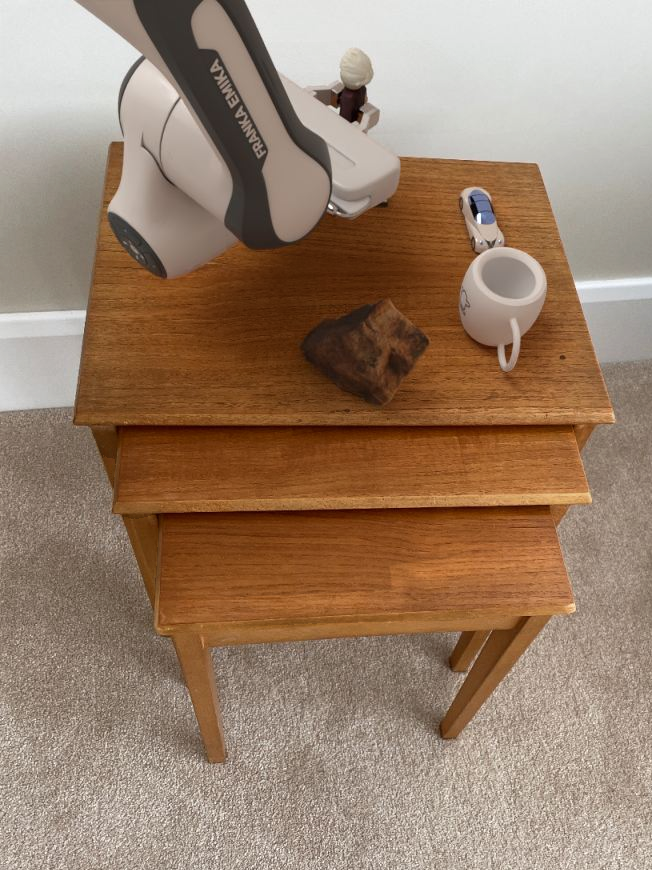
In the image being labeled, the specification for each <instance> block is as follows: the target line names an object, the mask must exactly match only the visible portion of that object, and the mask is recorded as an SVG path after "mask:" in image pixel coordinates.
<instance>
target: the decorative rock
mask: <svg viewBox="0 0 652 870" xmlns="http://www.w3.org/2000/svg"><path fill="white" fill-rule="evenodd" d="M431 343H432V341H431V338H430V337H429V336H428V335H427V334H426V333H425V332H424V330H423V329H422V327H419V326H416V325H414V323H413V322H412V321H411V320H410V319H408V318H407V317H406V316H405V315H403V314H402V312H401V311H399V310H398V309H397V308H396V307H395V305H394V304H393V302H392V301H391V300H390V299H389V298H388V297H382V298H381V299H379V300H378V301H377V302H375V303H366V304H363V305H361V306H360V307H358V308H356V309H354V310H351V311H350V312H348V313H346V314H342V315H340V316H339V317H338V318H331V317H330V318H329V317H327V318H324V319H323V320H321V322H320V323H318V324H317V325H316V326H314V327H313V328H312V330H310V331H309V332H308V333H307V334H306V336H305V338H304V339H303V340H302V342H301V343H300V346H299V349H300V350H301V351H302V353H301V355H302V356H303V357H304V359H305V361H306V362H308V363H309V364H311V365H312V366H313V367H314V368H315V369H316V370H317V371H318V372H320V374H321V375H322V376H325V377H326V378H328V379H330V380H331V381H332V382H333V383H334V384H335V385H336V386H337V387H339V388H340V390H343V391H345V392H349V393H352V394H355V395H357V396H361V397H362V398H363V399H364V400H365V401H366V402H368V403H369V404H371V405H372V406H374V407H377V408H381V407H383V406H385V405H387V404H388V403H389V402H391V401H392V400H393V397H394V396H395V394H396V393H397V391H398V389H400V387H401V385H402V384H403V381H404V380H405V379H406V377H408V376H409V375H410V374H411V372H412V371H413V370H414V369H415V367H416V365H417V364H418V362H419V361H420V360H421V359H422V358H423V356H424V355H425V353H426V351H427V350H428V349H429V347H430V345H431Z"/></svg>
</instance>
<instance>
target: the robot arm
mask: <svg viewBox="0 0 652 870" xmlns="http://www.w3.org/2000/svg"><path fill="white" fill-rule="evenodd" d="M73 1H74V2H76V3H77V4H78V5H79V6H81V7H82V8H84V9H85V10H86V11H87V12H89V13H90V14H92V15H93V16H94V17H95V18H96V19H98V20H99V21H101V22H102V23H103V24H105V26H107V27H109V29H111V30H112V31H113V32H114V33H116V34H117V35H119V36H120V37H121V38H122V39H123V40H125V41H126V42H127V43H128V44H130V45H131V46H132V47H133V48H134V49H135V50H137V51H138V52H139V53H140V54H141V56H139V58H137V59H136V60H135V61H134V63H133V64H132V65H131V66H130V68H129V69H128V71H127V72H126V74H125V75H124V78H123V79H122V82H121V84H120V87H119V91H118V97H117V116H118V117H117V118H118V122H119V127H120V131H121V135H122V137H123V160H122V171H121V178H120V183H119V186H118V188H117V190H116V192H115V194H114V196H113V197H112V199H111V201H110V202H109V204H108V207H107V210H106V216H107V220H108V223H109V224H108V225H109V227H110V229H111V232H112V233H113V234H114V236H115V239H116V240H117V241H118V242H119V244H120V246H121V247H123V249H124V250H125V251H126V253H128V254H129V256H130V257H131V258H132V259H134V261H136V262H137V263H138V264H139V265H140V266H141V267H142V268H144V269H145V270H147V271H148V272H149V273H151V274H152V275H153V276H155V277H157V278H160V279H163V280H172V279H177V278H179V277H182V276H185V275H187V274H190V273H192V272H194V271H196V270H198V269H199V268H201V267H203V266H205V265H207V264H209V263H210V262H212V261H213V260H215V259H216V258H218V257H220V256H221V255H222V254H224V253H225V252H227V251H228V250H230V249H231V248H233V247H234V246H235V245H236V244H238V243H239V242H241V243H242V244H243V245H244V246H245V247H246V248H247V249H249V250H252V251H267V250H275V249H281V248H286V247H288V246H293V245H295V244H298V243H299V242H301V241H303V240H305V239H307V237H309V235H311V234H312V233H313V232H314V231H315V230H316V228H317V227H318V225H320V223H321V221H322V220H323V218H324V216H325V215H327V216H330V217H331V218H336V217H338V218H342V219H348V220H354V219H356V218H357V217H359V216H360V215H361V214H363V213H364V212H367V211H369V210H370V209H373V208H374V207H376V206H379V205H378V204H380V203H381V202H383V201H385V200H386V199H387V200H388V199H389V198H391V197H392V196H394V195H395V193H396V192H397V189H398V187H399V184H400V183H399V182H400V176H401V160H400V158H399V157H398V156H397V155H396V154H394V153H393V152H392V151H390V150H389V149H387V148H386V147H385V146H383V145H381V144H380V143H379V142H378V141H376V140H375V139H374V138H372V137H370V136H369V135H368V133H369V131H370V130H371V129H373V128H374V127H376V126H377V125H378V123H379V121H380V114H381V110H380V109H379V108H378V107H377V106H375V105H373V104H372V103H370V102H368V101H367V103H366V104H365V105H362V106H361V107H359V108H358V116H359V117H358V118H357V121H355V122H353V123H352V124H351V123H350V122H348V121H347V120H345V119H344V118H343V117H341V116H340V115H339V113H337V112H336V111H334V110H333V109H331V108H330V107H329V106H331V107H332V108H334V109H336V110H337V109H340V99H341V95H342V92H343V90H344V86H345V85H344V84H343V83H342V81H340V80H339V79H336V80H335V81H332V82H331V83H329V84H328V85H307V86H305V87H304V88H303V87H301V86H299V85H298V84H297V83H296V82H295V81H292V80H291V79H290V78H288V77H287V76H285V75H284V74H282V72H280V71H279V70H277V68H276V66H275V63H274V62H273V60H272V59H273V58H272V56H271V55H270V52H269V51H268V48H267V46H266V43H265V41H264V39H263V37H262V35H261V32H260V30H259V28H258V26H257V24H256V22H255V19H254V17H253V15H252V13H251V11H250V8H249V6H248V4H247V2H246V0H73Z"/></svg>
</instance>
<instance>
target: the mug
mask: <svg viewBox="0 0 652 870" xmlns="http://www.w3.org/2000/svg"><path fill="white" fill-rule="evenodd" d="M547 291H548V283H547V276H546V273H545V270H544V268H543V267H542V265H541V264H540V263H539V261H538V260H536V259H535V258H534V257H533V256H532V255H530V254H529V253H527V252H525V251H523V250H520V249H517V248H514V247H509V246H504V247H496V248H492V247H490V248H489V250H486V251H484V252H483V253H479V255H477V256H476V257H475V258H474V259H473V261H472V262H471V263H470V265H469V267H468V268H467V270H466V272H465V274H464V277H463V280H462V282H461V287H460V291H459V297H458V312H459V318H460V321H461V325H462V327H463V329H464V330H465V332H466V333H467V335H469V336H470V337H471V338H472V339H473V340H475V341H476V342H477V343H480V344H482V345H484V346H489V347H497V357H498V362H499V366H500V368H501V370H502V371H503V372H505V373H509V372H511V371H513V370H514V368H515V367H516V364H517V361H518V358H519V354H520V349H521V337H522V336H524V335H525V334H526V333H527V332H528V331H529V330H530V329H531V327H532V326H533V325H534V324H535V322H536V321H537V319H538V317H539V315H540V313H541V310H542V309H543V306H544V303H545V301H546V297H547ZM510 344H512V348H511V349H512V350H511V355H510V358H509V360H508V362H507V360H506V353H505V352H506V351H505V346H508V345H510Z"/></svg>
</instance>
